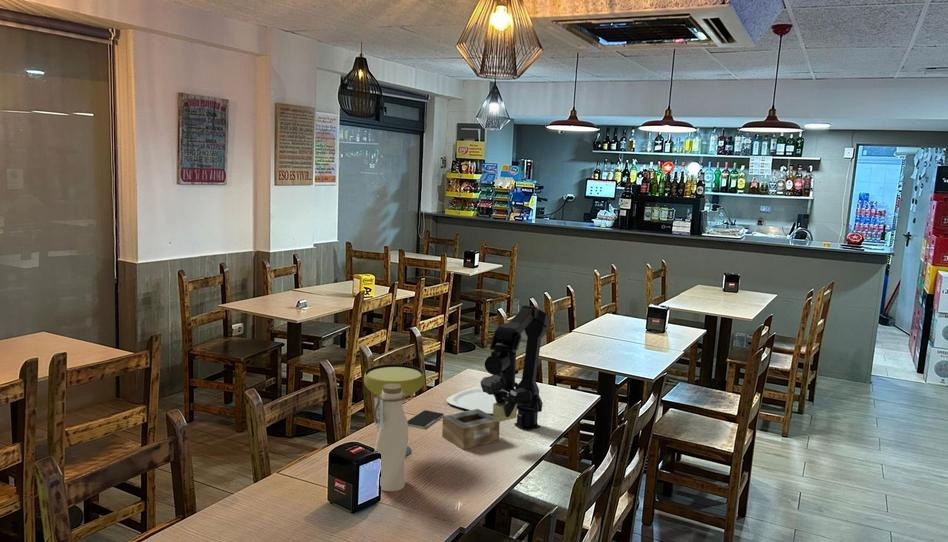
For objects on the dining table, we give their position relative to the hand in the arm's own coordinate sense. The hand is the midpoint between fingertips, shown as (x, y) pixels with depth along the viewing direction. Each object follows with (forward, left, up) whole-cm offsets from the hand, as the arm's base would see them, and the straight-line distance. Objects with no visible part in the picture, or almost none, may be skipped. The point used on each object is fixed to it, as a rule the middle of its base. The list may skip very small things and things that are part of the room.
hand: (504, 415), depth 211 cm
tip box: (+5, -11, -11) cm, 16 cm away
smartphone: (+9, -33, -11) cm, 36 cm away
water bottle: (+43, +5, -11) cm, 45 cm away
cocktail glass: (+31, -15, -11) cm, 36 cm away
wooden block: (0, 0, -1) cm, 1 cm away
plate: (-20, -37, -11) cm, 44 cm away
